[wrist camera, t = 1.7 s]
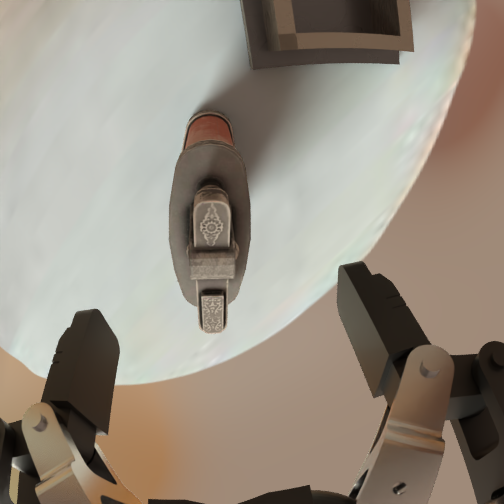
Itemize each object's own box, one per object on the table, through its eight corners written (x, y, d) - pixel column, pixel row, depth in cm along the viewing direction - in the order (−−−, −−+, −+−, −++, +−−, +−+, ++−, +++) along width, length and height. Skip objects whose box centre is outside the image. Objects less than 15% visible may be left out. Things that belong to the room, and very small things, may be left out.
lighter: (180, 110, 16) (152, 170, 8) (238, 110, 17) (271, 169, 9) (183, 229, 21) (174, 350, 13) (232, 228, 22) (251, 347, 14)
